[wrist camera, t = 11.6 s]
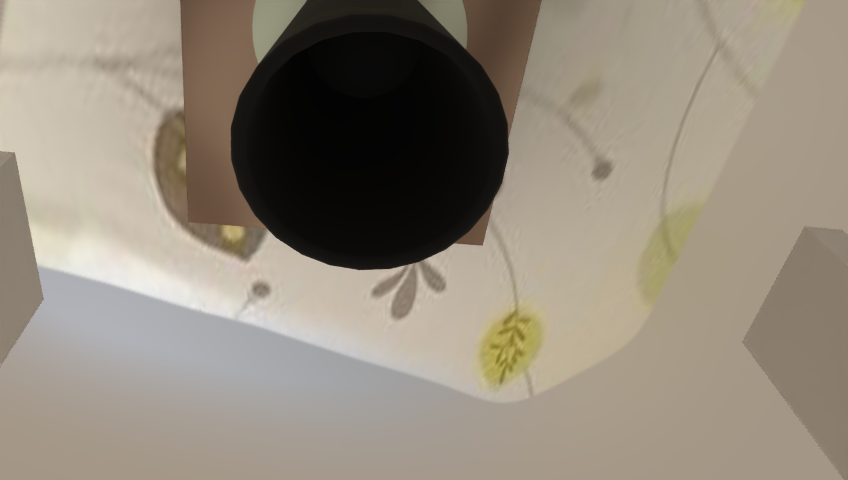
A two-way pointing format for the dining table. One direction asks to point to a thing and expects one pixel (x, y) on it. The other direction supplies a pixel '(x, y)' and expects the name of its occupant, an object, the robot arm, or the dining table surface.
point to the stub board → (254, 36)
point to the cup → (368, 135)
